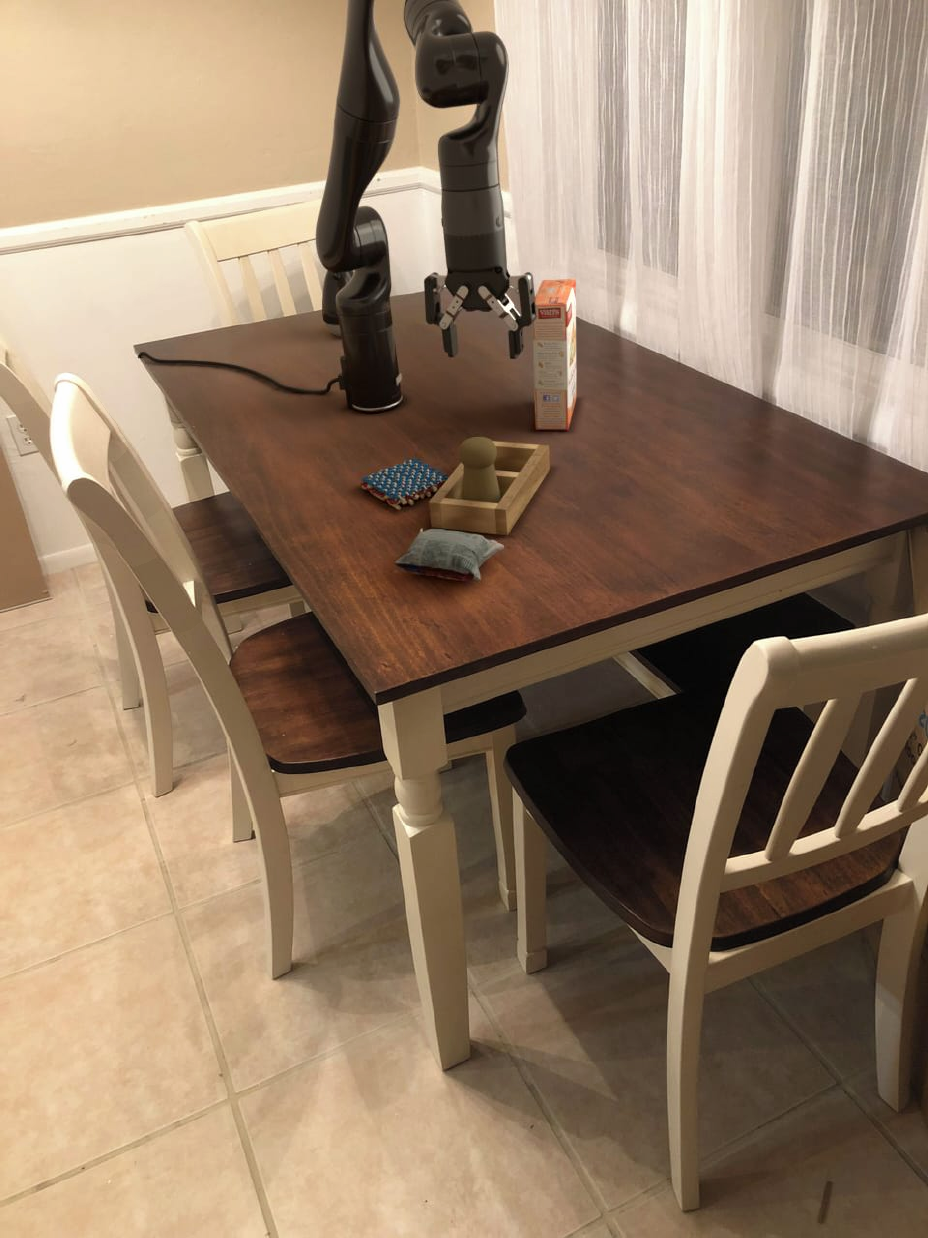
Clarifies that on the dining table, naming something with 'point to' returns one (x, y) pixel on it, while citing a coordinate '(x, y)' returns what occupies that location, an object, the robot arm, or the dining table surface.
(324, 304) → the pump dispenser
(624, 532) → the dining table surface
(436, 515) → the spice rack
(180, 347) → the dining table surface
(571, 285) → the cracker box
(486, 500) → the olive peg doll
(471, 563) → the packaged food
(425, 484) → the woven mat
